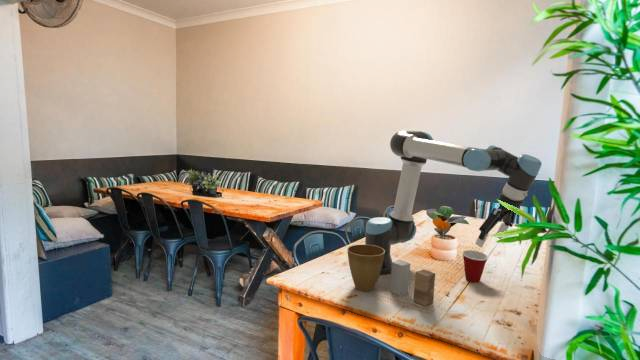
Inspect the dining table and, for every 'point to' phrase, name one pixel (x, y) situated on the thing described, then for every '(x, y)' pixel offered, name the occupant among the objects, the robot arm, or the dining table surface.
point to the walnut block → (424, 288)
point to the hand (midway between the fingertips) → (488, 241)
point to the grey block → (400, 277)
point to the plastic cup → (474, 265)
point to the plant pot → (365, 265)
